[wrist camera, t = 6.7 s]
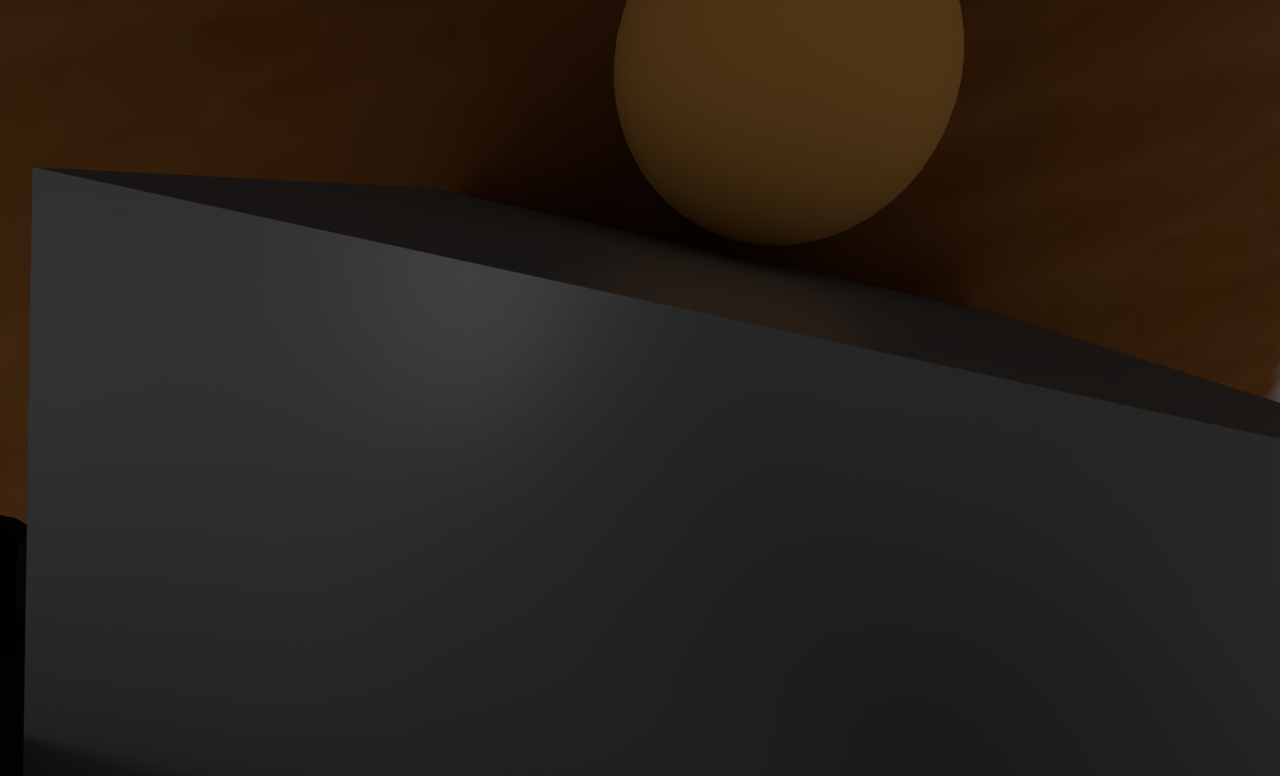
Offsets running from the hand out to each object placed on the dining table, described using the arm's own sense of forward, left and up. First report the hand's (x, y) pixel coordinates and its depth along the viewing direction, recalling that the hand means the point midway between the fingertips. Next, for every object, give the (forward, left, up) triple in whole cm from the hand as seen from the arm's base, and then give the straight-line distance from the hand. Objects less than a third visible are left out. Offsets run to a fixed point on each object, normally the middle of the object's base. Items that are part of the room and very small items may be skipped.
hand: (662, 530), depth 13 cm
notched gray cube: (0, 0, -1) cm, 1 cm away
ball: (-8, 0, +1) cm, 8 cm away
